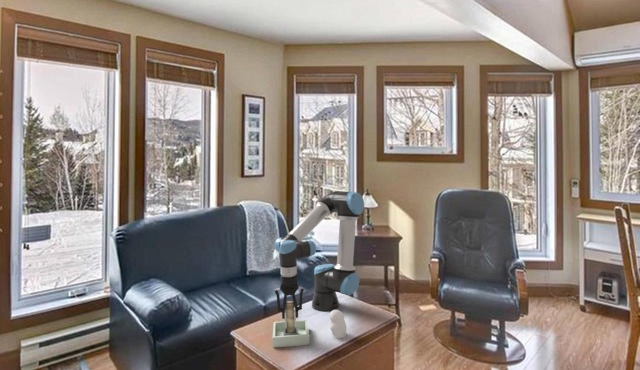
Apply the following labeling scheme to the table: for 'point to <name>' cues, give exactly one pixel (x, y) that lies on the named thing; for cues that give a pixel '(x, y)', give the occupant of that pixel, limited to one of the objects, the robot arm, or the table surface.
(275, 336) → the green square socket tray
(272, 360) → the table surface
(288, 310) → the beige wooden dowel
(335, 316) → the figurine
